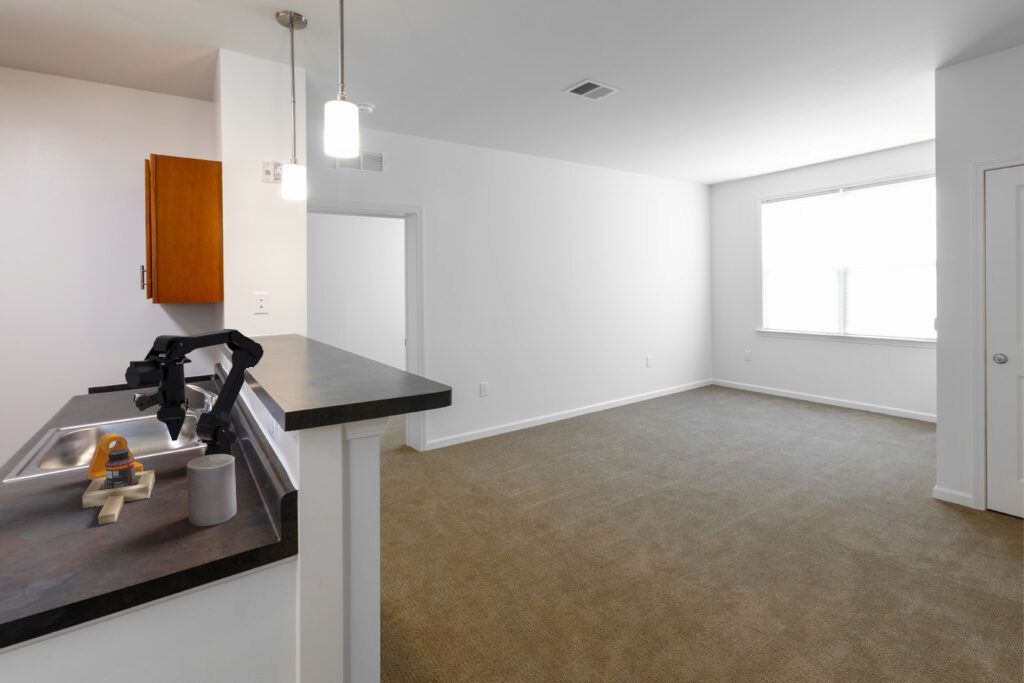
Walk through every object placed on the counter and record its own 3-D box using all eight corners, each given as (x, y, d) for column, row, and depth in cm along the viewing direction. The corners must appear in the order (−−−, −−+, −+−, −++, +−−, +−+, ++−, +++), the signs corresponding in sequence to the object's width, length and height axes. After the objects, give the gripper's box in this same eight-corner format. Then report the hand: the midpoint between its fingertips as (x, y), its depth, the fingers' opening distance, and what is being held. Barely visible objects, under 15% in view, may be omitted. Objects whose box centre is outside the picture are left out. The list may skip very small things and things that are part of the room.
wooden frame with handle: (155, 480, 139) (154, 469, 138) (142, 517, 117) (141, 504, 117) (95, 489, 132) (94, 478, 132) (70, 529, 111) (68, 516, 110)
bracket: (98, 486, 134) (94, 443, 133) (88, 480, 138) (84, 438, 137) (144, 474, 143) (141, 433, 142) (134, 469, 147) (131, 429, 146)
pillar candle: (184, 516, 118) (181, 454, 116) (230, 503, 125) (227, 445, 123) (195, 531, 111) (191, 466, 109) (243, 517, 118) (240, 456, 116)
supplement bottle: (132, 486, 134) (129, 445, 133) (139, 492, 131) (136, 450, 129) (104, 493, 130) (101, 451, 128) (110, 500, 126) (107, 456, 125)
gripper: (141, 377, 142) (144, 431, 144) (130, 390, 126) (134, 450, 128) (187, 374, 147) (190, 426, 149) (183, 386, 131) (186, 444, 133)
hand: (175, 436), depth 140 cm, fingers open, 9 cm apart
